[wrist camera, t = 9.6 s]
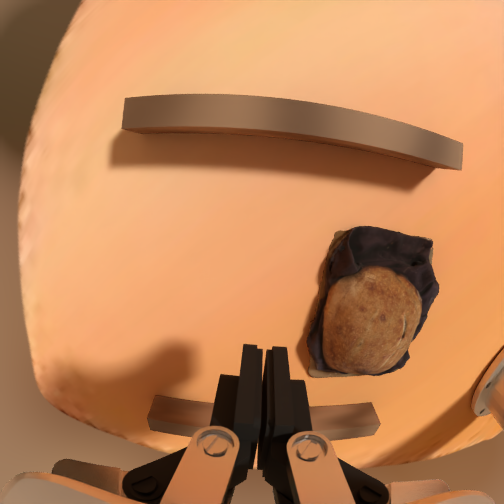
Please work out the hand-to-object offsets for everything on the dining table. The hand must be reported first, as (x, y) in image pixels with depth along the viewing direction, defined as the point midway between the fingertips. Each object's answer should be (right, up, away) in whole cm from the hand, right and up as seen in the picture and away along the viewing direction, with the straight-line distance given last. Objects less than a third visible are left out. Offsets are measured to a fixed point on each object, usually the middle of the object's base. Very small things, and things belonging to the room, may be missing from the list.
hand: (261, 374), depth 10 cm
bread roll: (+7, +1, +7) cm, 10 cm away
